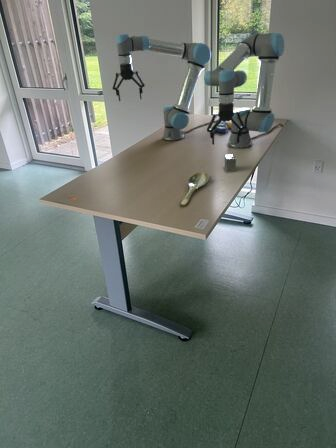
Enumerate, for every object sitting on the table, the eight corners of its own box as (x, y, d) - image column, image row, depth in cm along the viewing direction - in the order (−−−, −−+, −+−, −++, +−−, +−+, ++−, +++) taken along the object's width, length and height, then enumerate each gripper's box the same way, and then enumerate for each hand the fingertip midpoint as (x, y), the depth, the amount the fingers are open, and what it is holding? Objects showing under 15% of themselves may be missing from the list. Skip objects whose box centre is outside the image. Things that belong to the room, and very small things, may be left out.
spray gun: (237, 125, 262) (219, 125, 268) (237, 120, 259) (219, 119, 266) (229, 134, 246) (210, 133, 253) (229, 128, 244) (210, 127, 250)
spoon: (193, 209, 156) (193, 205, 155) (172, 207, 159) (171, 203, 158) (212, 175, 182) (212, 172, 181) (193, 174, 186) (193, 170, 184)
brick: (224, 167, 193) (224, 154, 189) (232, 166, 193) (233, 154, 189) (226, 172, 187) (227, 159, 183) (235, 171, 187) (235, 158, 183)
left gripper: (104, 65, 200) (110, 102, 211) (146, 62, 200) (149, 99, 211) (105, 64, 206) (111, 100, 217) (146, 60, 206) (149, 96, 217)
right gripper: (202, 106, 169) (203, 146, 180) (252, 102, 168) (249, 143, 179) (201, 103, 176) (202, 142, 187) (249, 99, 174) (247, 139, 185)
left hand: (130, 99), depth 214 cm, fingers open, 13 cm apart
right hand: (225, 143), depth 183 cm, fingers open, 13 cm apart
